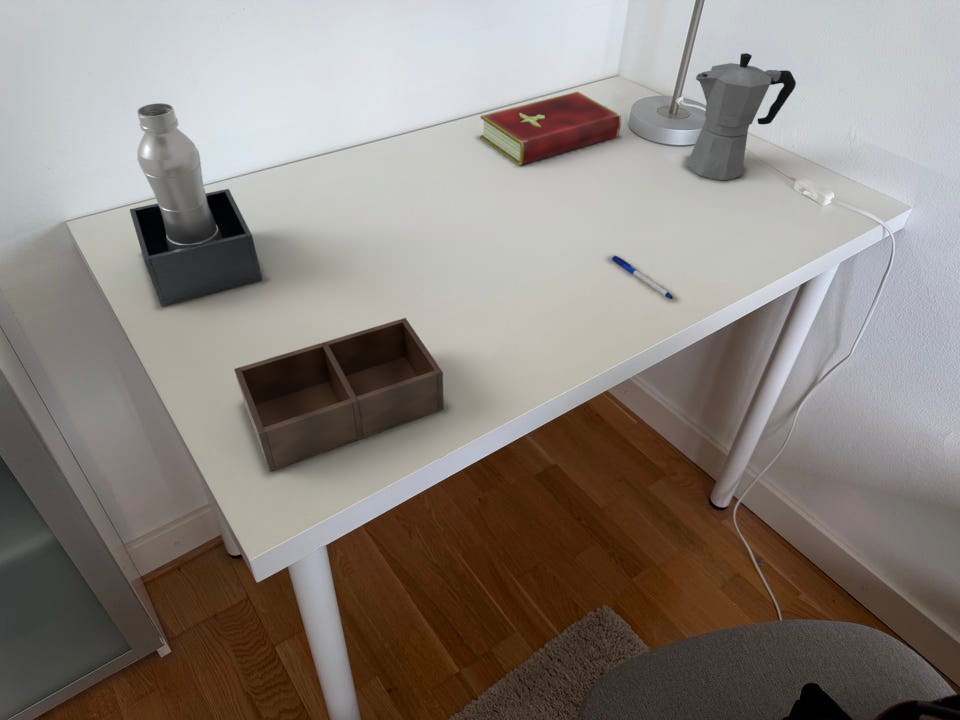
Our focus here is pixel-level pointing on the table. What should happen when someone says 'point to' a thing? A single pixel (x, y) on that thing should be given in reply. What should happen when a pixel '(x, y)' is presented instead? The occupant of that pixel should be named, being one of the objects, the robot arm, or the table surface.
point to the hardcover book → (549, 127)
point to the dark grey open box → (198, 253)
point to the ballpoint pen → (640, 276)
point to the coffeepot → (733, 115)
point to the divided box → (339, 391)
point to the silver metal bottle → (175, 178)
